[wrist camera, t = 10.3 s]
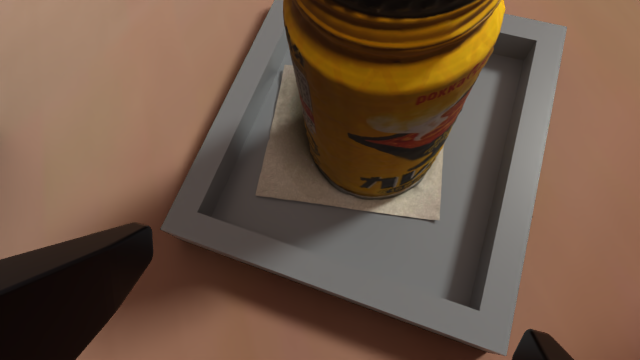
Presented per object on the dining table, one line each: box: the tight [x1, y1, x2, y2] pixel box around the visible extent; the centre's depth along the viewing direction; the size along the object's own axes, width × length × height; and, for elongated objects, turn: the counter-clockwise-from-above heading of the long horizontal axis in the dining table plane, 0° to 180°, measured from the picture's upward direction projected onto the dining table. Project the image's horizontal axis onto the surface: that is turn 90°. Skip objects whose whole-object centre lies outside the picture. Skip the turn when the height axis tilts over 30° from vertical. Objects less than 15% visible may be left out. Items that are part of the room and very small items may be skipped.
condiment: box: [256, 0, 505, 220], centre depth 14 cm, size 7×8×12 cm
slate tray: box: [160, 0, 567, 356], centre depth 19 cm, size 15×14×2 cm
